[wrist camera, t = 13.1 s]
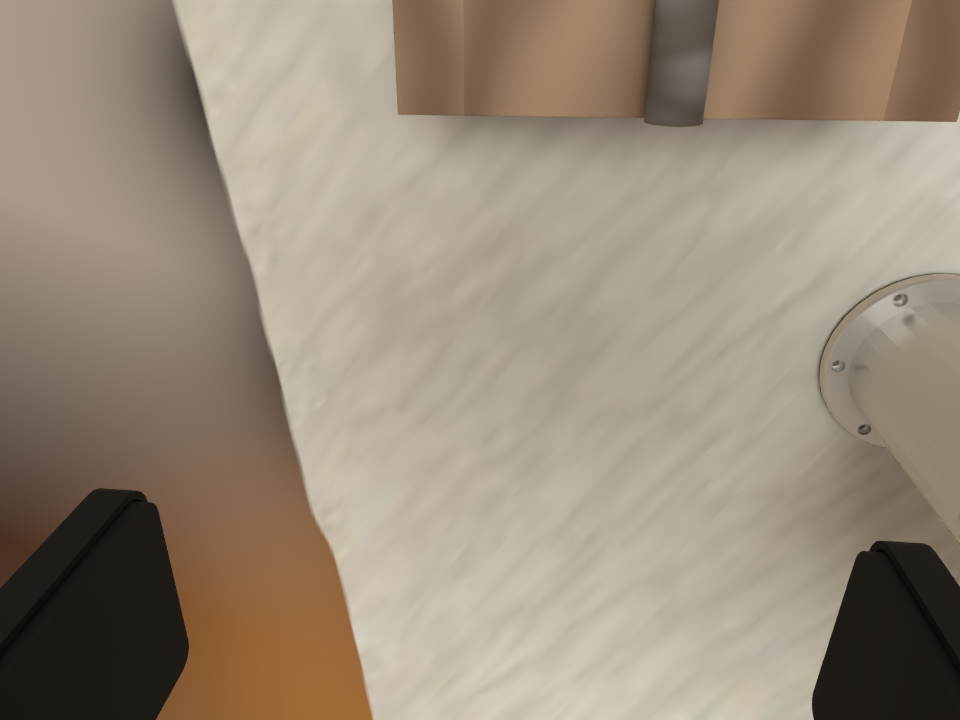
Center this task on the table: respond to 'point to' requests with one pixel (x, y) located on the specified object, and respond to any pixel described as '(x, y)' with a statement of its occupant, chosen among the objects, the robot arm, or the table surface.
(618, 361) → the table surface
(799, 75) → the shelf
